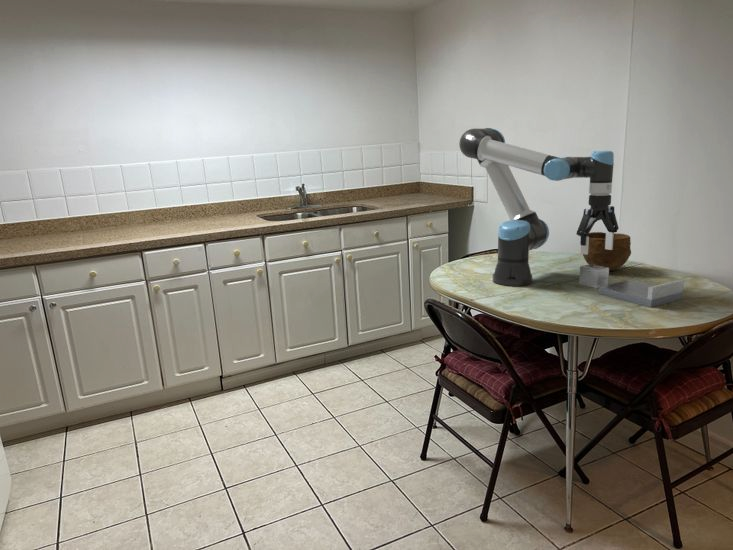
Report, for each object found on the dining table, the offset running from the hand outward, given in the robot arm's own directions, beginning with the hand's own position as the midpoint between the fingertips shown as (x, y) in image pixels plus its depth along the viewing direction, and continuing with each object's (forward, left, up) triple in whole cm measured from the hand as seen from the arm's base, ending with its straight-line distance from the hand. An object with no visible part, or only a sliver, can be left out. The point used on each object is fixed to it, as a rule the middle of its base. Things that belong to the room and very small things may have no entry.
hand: (596, 251), depth 202 cm
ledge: (0, -19, -13) cm, 23 cm away
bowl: (+23, +13, -13) cm, 29 cm away
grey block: (0, 0, -13) cm, 13 cm away
